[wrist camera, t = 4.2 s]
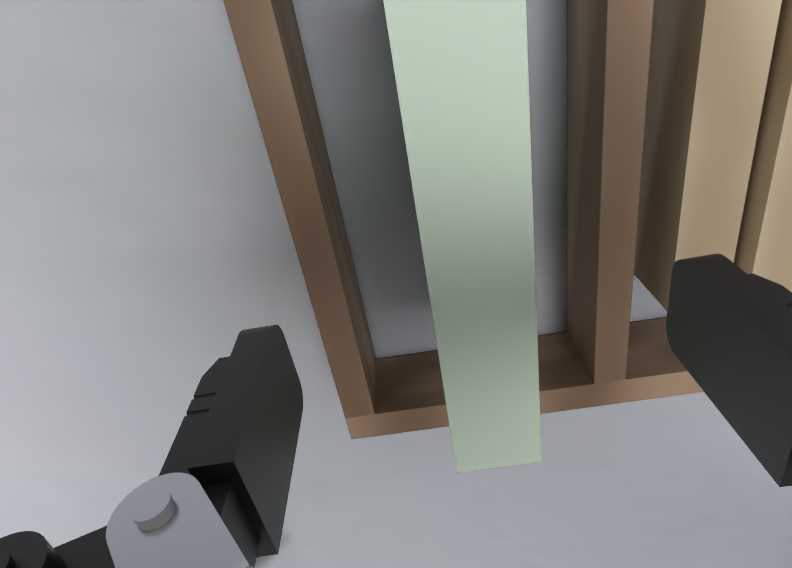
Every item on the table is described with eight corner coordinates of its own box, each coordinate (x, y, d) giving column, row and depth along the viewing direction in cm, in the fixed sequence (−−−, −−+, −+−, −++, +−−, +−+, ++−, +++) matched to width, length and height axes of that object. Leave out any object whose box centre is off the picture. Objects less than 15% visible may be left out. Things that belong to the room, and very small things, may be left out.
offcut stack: (788, -108, 16) (924, -136, 12) (723, 267, 22) (796, 328, 18) (646, -81, 16) (734, -100, 12) (623, 283, 22) (675, 347, 19)
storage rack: (915, -277, 14) (1065, -348, 11) (771, 323, 23) (829, 374, 20) (218, -131, 15) (177, -158, 12) (355, 382, 25) (351, 439, 22)
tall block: (457, -25, 16) (525, -29, 9) (486, 294, 22) (541, 461, 15) (382, -11, 17) (383, -2, 9) (431, 303, 23) (456, 473, 15)
